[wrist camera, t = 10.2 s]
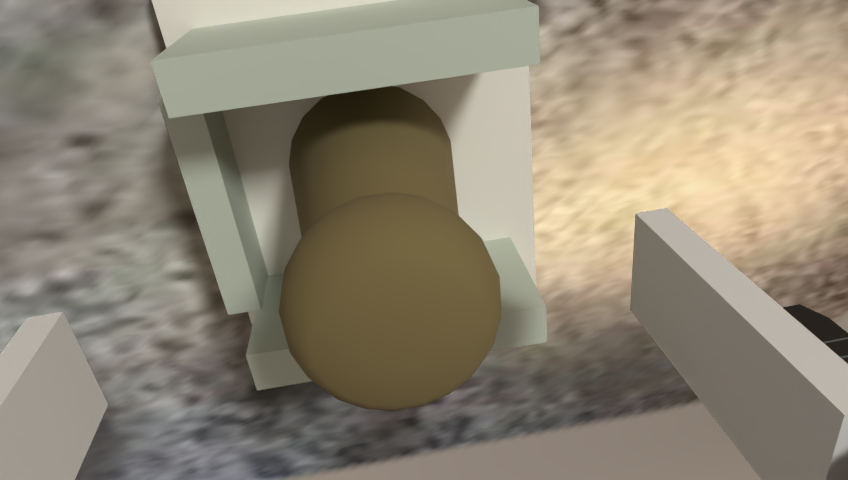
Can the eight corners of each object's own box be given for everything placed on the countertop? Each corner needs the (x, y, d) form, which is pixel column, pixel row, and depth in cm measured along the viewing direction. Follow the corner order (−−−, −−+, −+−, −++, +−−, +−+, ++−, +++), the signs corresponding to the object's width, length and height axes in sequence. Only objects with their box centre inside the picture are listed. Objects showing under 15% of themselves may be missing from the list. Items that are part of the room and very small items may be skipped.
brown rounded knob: (482, 181, 24) (583, 364, 14) (354, 264, 25) (366, 489, 15) (392, 47, 21) (441, 159, 11) (253, 147, 22) (186, 329, 12)
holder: (259, 326, 27) (238, 427, 21) (155, -21, 20) (87, 3, 15) (530, 282, 27) (575, 370, 22) (516, -69, 21) (576, -64, 15)
